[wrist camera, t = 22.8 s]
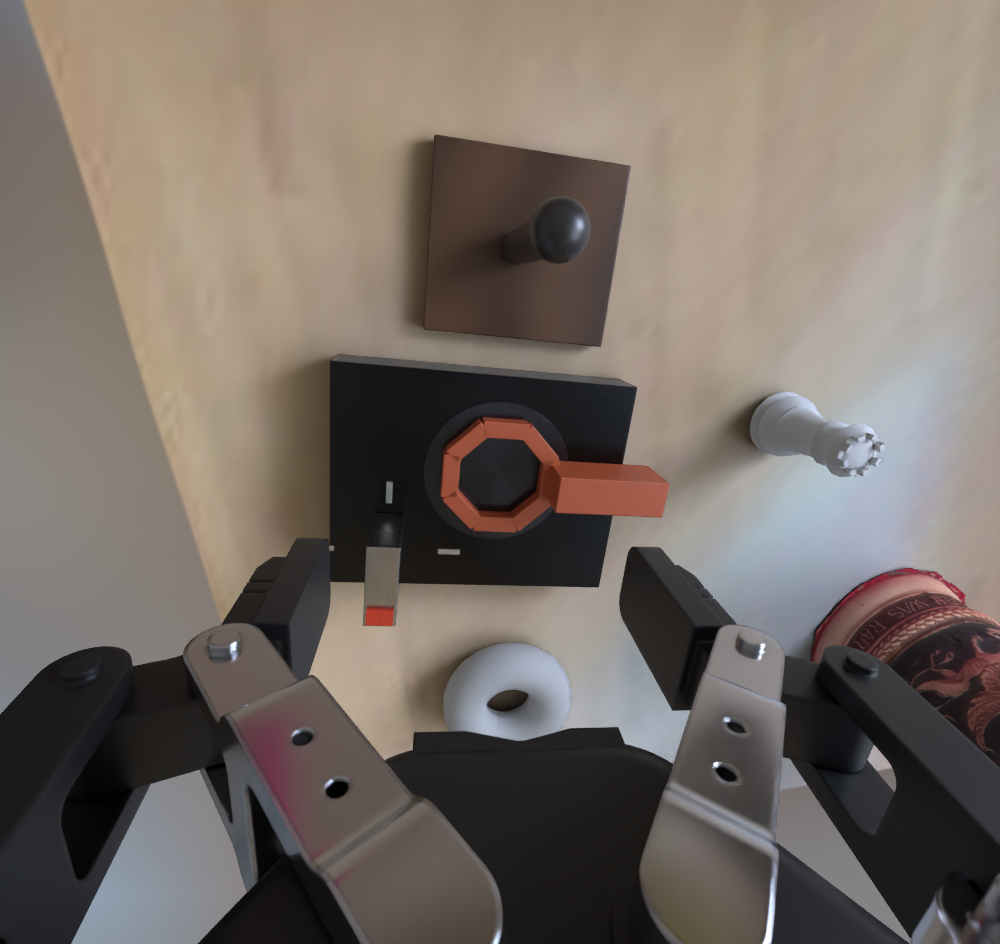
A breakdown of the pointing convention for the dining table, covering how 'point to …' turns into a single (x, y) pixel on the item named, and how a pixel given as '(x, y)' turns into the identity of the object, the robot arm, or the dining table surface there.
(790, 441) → the rook chess piece
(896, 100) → the dining table surface
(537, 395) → the stove
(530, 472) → the burner
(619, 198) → the peg stand
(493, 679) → the donut
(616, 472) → the hanging ring
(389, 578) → the knob
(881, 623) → the beer stein
